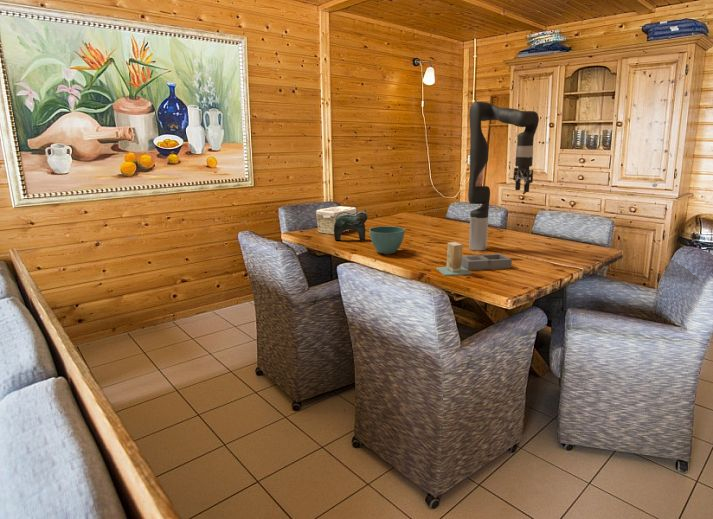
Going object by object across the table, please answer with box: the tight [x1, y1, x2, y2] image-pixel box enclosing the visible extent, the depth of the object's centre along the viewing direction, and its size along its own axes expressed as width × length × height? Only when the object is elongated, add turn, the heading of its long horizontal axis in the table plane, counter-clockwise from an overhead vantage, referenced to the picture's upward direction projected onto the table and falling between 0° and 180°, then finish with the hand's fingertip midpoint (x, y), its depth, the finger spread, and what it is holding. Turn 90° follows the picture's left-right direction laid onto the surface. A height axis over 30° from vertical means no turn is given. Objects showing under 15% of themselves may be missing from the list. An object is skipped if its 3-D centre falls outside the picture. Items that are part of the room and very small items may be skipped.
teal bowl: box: [369, 225, 405, 255], centre depth 255 cm, size 18×18×12 cm
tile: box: [435, 266, 472, 277], centre depth 220 cm, size 12×12×1 cm
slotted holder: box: [461, 253, 513, 271], centre depth 227 cm, size 11×21×4 cm, turn 99°
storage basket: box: [315, 205, 358, 235], centre depth 314 cm, size 24×16×15 cm
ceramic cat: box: [333, 205, 369, 241], centre depth 285 cm, size 20×6×20 cm, turn 89°
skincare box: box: [445, 241, 464, 272], centre depth 218 cm, size 6×4×12 cm
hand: (521, 191), depth 232 cm, fingers open, 8 cm apart
